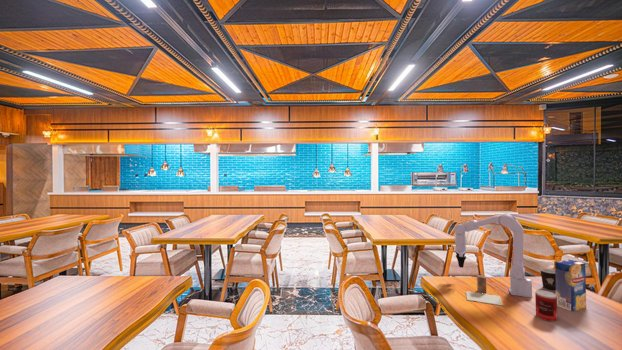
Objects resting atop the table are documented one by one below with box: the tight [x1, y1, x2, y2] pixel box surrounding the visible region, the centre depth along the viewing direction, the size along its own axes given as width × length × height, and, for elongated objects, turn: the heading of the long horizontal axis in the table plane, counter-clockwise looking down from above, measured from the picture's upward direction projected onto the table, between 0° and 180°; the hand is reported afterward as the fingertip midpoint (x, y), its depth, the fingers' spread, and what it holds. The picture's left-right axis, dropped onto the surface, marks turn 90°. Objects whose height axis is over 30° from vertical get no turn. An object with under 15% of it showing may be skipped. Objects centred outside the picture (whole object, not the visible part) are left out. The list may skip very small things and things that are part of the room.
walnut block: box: [476, 274, 487, 294], centre depth 159 cm, size 4×4×9 cm
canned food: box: [534, 289, 558, 322], centre depth 130 cm, size 8×8×11 cm
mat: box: [465, 290, 504, 307], centre depth 151 cm, size 16×12×1 cm
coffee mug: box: [539, 268, 556, 292], centre depth 161 cm, size 12×9×10 cm
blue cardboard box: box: [554, 258, 587, 312], centre depth 140 cm, size 7×11×22 cm, turn 109°
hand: (460, 265), depth 174 cm, fingers open, 7 cm apart
